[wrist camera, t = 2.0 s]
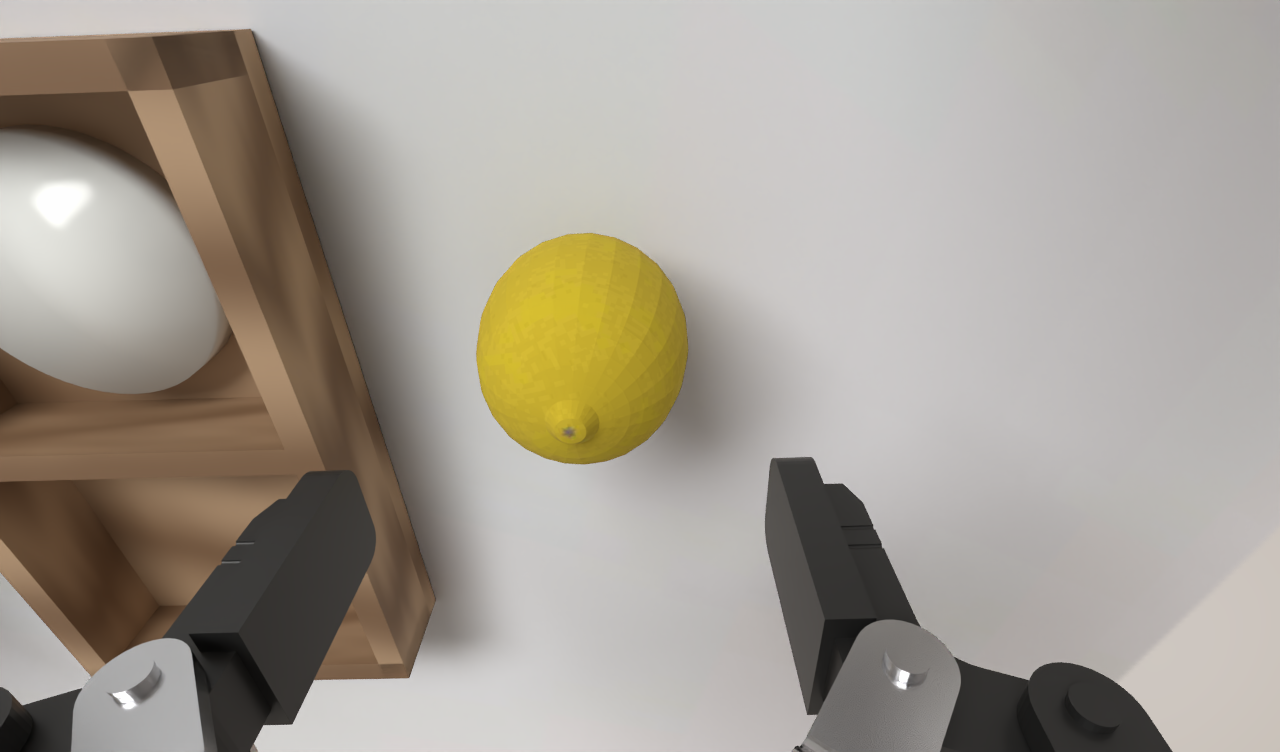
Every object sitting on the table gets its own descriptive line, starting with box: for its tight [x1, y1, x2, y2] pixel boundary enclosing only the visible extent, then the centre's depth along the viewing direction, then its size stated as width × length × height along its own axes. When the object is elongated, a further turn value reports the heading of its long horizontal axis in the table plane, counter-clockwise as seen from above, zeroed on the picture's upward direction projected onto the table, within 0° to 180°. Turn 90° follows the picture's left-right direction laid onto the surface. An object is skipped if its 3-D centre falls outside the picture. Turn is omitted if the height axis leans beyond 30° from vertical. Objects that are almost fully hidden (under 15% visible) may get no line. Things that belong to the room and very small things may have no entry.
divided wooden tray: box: [0, 29, 436, 680], centre depth 21 cm, size 23×13×4 cm, turn 2°
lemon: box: [476, 233, 688, 464], centre depth 16 cm, size 6×6×8 cm
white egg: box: [0, 124, 233, 394], centre depth 18 cm, size 8×8×1 cm
